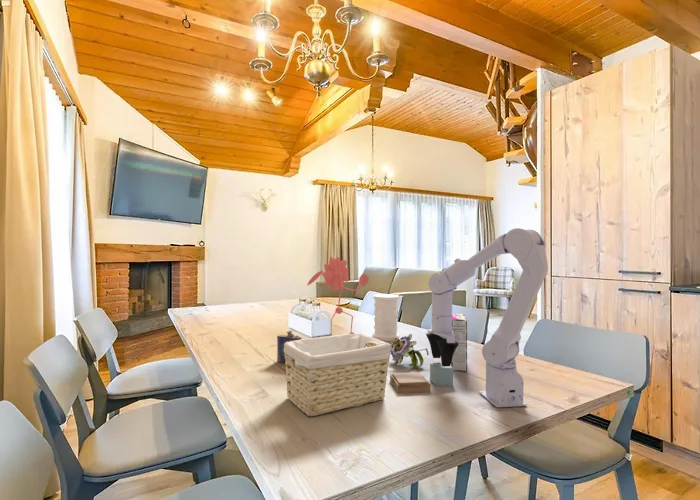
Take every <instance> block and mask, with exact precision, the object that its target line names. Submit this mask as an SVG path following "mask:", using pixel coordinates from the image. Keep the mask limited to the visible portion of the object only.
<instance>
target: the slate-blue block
mask: <svg viewBox="0 0 700 500" xmlns="http://www.w3.org/2000/svg"><path fill="white" fill-rule="evenodd" d="M429 380H430V382H431V383H432V384H433V385H434V386H436V387H440V386H441V387H442V386H445V387H446V386H454V370H453V367H451V365H450V366H442V362H430V363H429Z"/></svg>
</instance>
